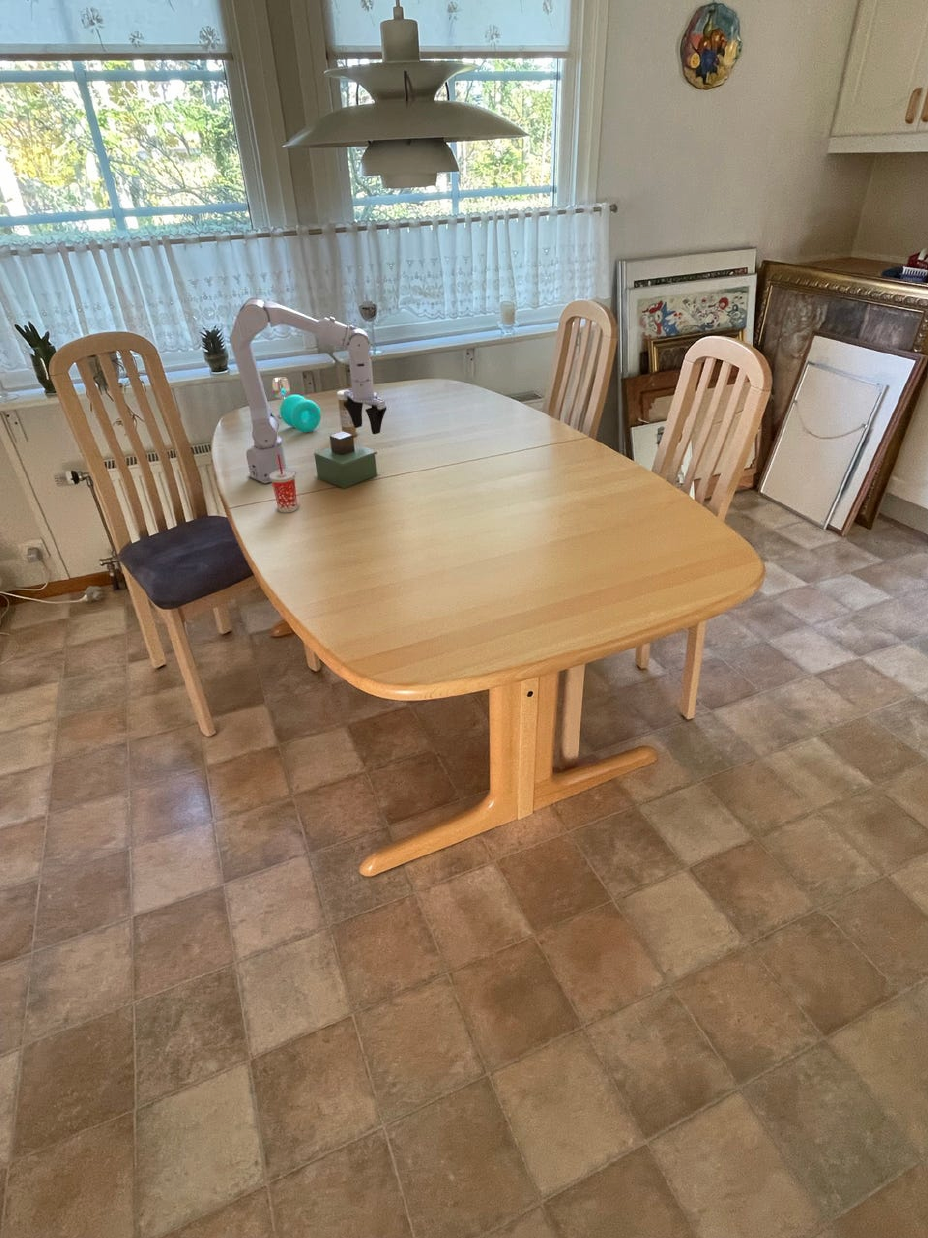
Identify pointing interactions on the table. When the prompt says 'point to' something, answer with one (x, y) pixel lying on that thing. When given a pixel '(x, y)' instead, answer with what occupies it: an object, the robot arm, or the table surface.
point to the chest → (346, 471)
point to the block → (342, 443)
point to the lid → (346, 455)
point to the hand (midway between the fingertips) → (367, 430)
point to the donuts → (300, 413)
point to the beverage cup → (284, 488)
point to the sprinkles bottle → (345, 415)
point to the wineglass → (281, 388)
